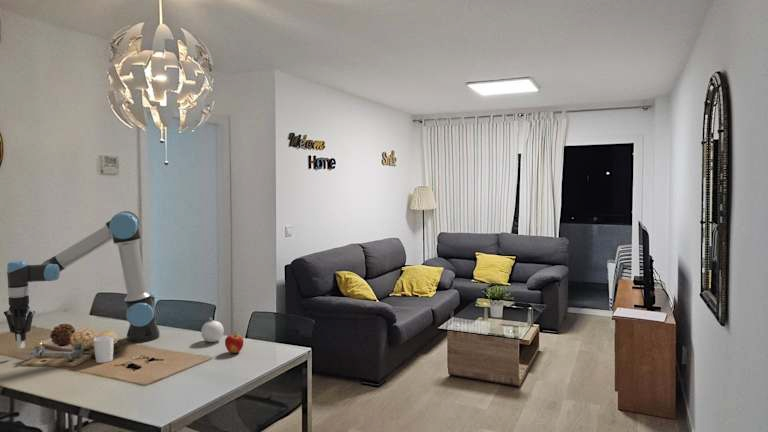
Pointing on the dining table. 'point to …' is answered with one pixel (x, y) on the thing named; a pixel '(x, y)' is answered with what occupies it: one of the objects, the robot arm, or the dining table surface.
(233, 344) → the apple
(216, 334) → the ornament
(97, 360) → the white cup
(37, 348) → the sliding leg
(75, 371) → the dining table surface
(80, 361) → the jig board
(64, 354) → the dividers beam
